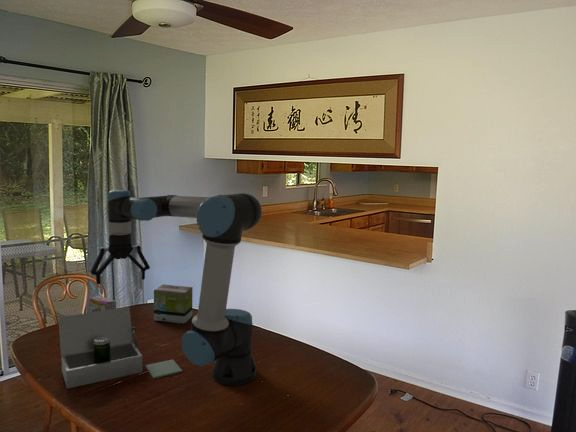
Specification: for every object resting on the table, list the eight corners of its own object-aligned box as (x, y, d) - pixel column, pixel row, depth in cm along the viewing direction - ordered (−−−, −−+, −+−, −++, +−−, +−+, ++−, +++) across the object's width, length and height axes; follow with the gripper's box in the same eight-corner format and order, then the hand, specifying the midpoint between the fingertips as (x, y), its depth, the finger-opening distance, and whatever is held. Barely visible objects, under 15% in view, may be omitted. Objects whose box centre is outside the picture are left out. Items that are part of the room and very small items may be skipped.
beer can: (113, 368, 164) (112, 336, 163) (107, 376, 159) (106, 342, 158) (97, 368, 164) (97, 335, 163) (91, 375, 159) (90, 342, 158)
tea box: (153, 321, 211) (152, 289, 209) (162, 314, 221) (162, 283, 219) (184, 324, 208) (184, 292, 206) (193, 316, 218) (193, 286, 216)
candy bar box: (89, 336, 192) (88, 298, 190) (100, 332, 196) (99, 295, 194) (106, 343, 186) (105, 303, 184) (117, 339, 190) (116, 300, 188)
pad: (182, 372, 164) (182, 370, 163) (153, 378, 158) (153, 376, 158) (172, 360, 172) (172, 359, 172) (145, 366, 167) (145, 365, 167)
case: (146, 371, 163) (145, 320, 161) (66, 388, 150) (64, 334, 148) (133, 351, 179) (132, 305, 176) (60, 366, 165) (58, 316, 163)
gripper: (152, 229, 177) (153, 283, 180) (81, 233, 164) (83, 291, 167) (157, 232, 170) (158, 289, 173) (83, 237, 158) (85, 297, 161)
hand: (121, 290), depth 170 cm, fingers open, 13 cm apart
